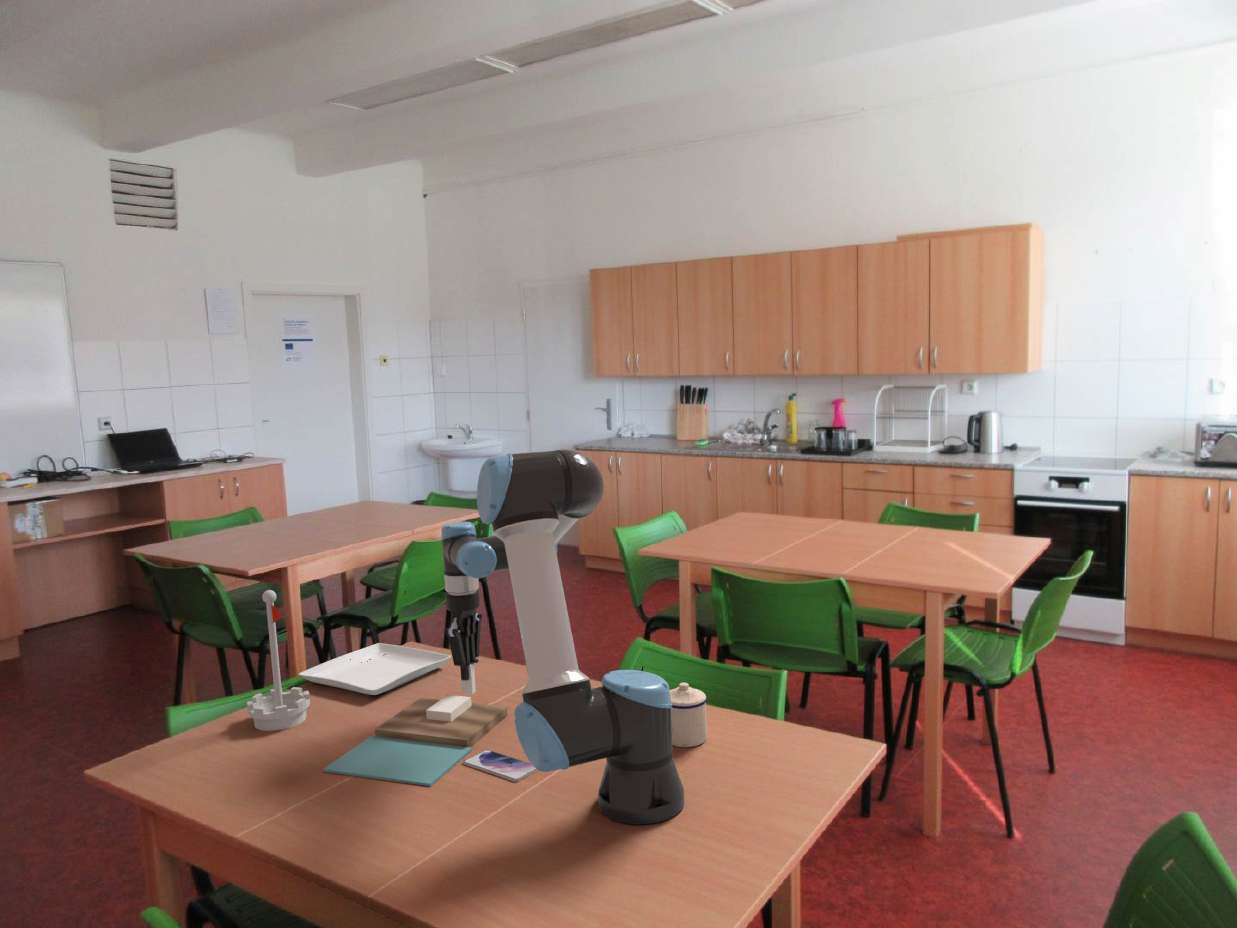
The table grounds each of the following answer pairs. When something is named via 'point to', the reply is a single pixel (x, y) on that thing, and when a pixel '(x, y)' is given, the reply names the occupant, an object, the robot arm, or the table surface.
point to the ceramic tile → (448, 708)
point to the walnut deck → (442, 724)
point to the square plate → (375, 668)
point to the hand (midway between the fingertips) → (468, 691)
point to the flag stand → (277, 687)
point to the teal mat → (399, 760)
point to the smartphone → (501, 765)
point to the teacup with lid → (688, 716)
